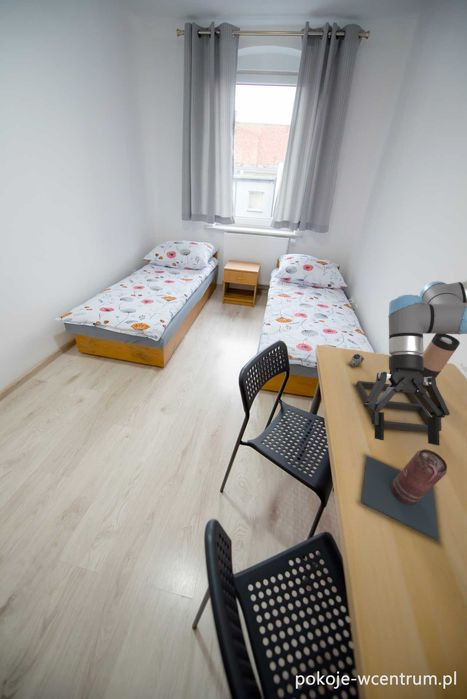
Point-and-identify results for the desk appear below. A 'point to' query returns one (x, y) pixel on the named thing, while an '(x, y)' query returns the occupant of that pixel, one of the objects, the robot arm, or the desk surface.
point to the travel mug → (438, 354)
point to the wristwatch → (356, 360)
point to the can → (418, 476)
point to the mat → (385, 501)
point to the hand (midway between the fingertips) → (406, 442)
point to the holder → (413, 406)
